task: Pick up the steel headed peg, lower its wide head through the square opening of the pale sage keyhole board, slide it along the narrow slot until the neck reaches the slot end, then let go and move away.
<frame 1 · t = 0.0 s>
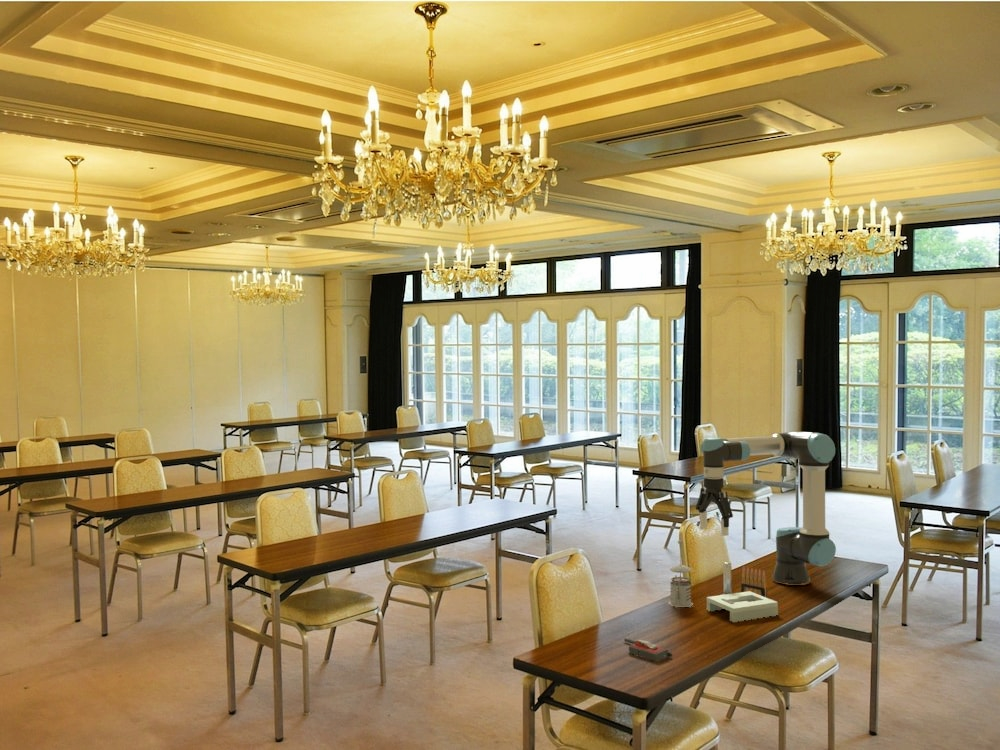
hand: (714, 532, 317), 28 cm above the table, tool pointing down, fingers open, 13 cm apart
ammunition clip: (754, 598, 325), on the table
steel peg: (727, 600, 322), on the table
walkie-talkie: (642, 653, 266), on the table
keyhole board: (741, 612, 306), on the table
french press: (680, 605, 317), on the table
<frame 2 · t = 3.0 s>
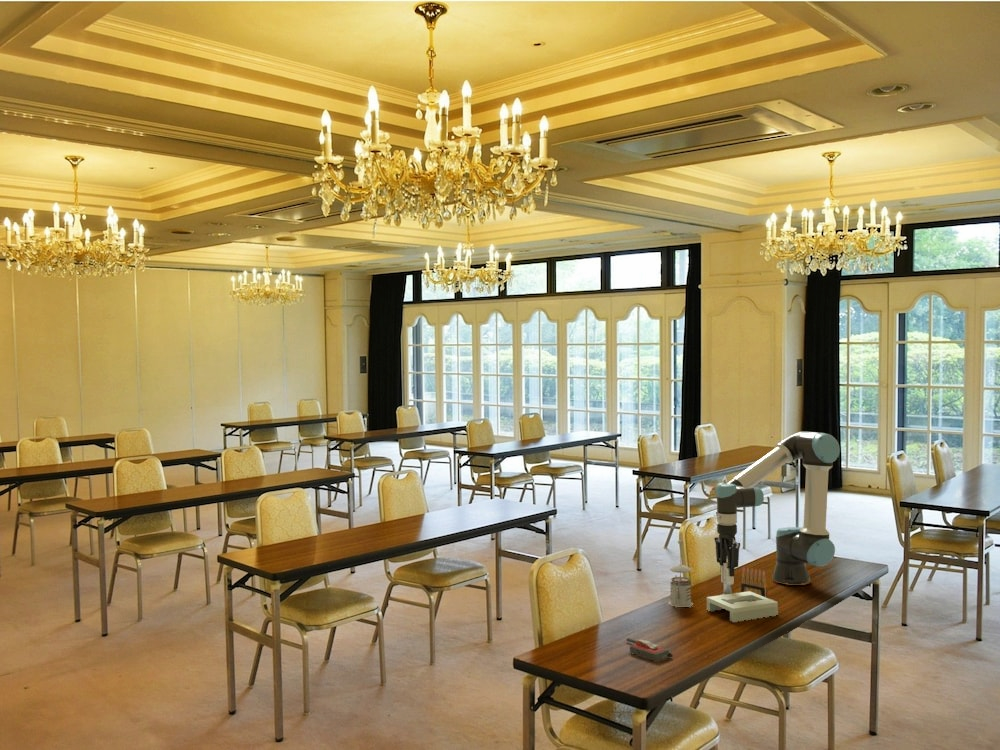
hand: (727, 582, 322), 7 cm above the table, tool pointing down, fingers closed on steel peg, 3 cm apart
steel peg: (727, 600, 322), on the table, touching gripper
everything else where it was.
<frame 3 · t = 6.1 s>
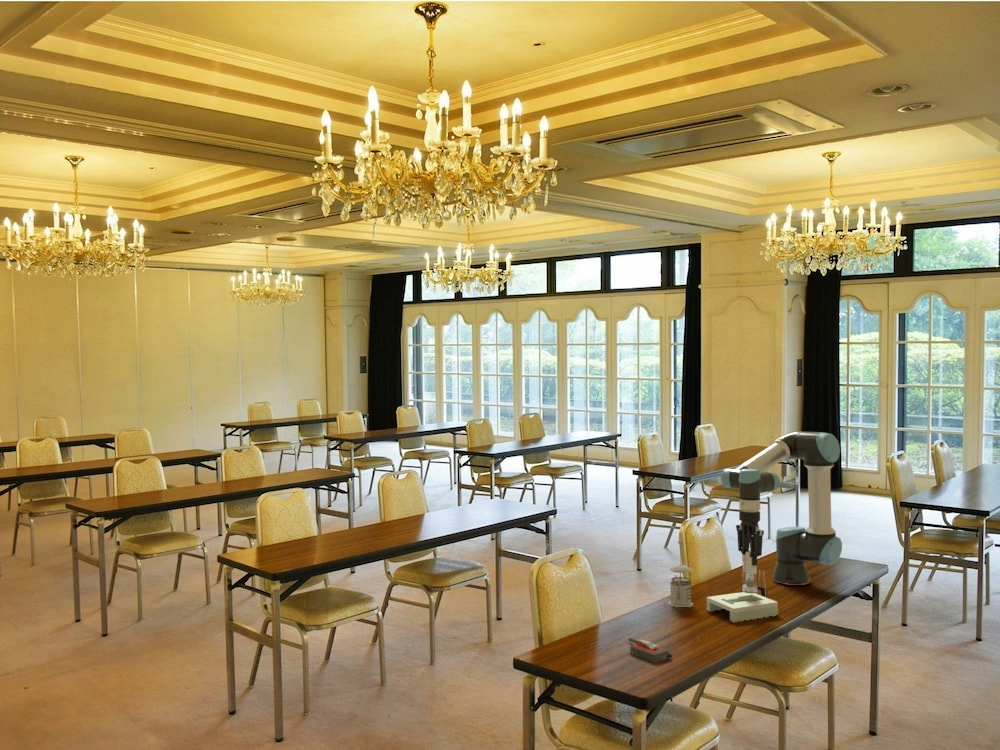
hand: (749, 572, 307), 15 cm above the table, tool pointing down, fingers closed on steel peg, 3 cm apart
steel peg: (749, 591, 307), point 8 cm above the table, touching gripper
everything else where it was.
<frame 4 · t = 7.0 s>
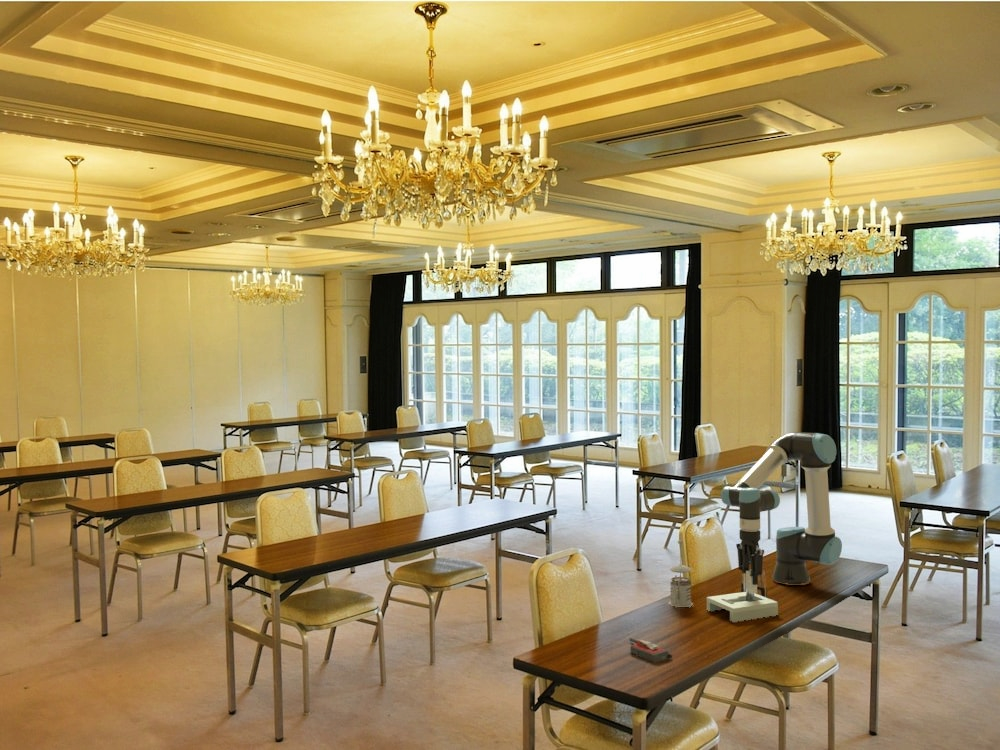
hand: (750, 591, 307), 8 cm above the table, tool pointing down, fingers closed on steel peg, 3 cm apart
steel peg: (750, 610, 307), on the table, touching gripper
everything else where it was.
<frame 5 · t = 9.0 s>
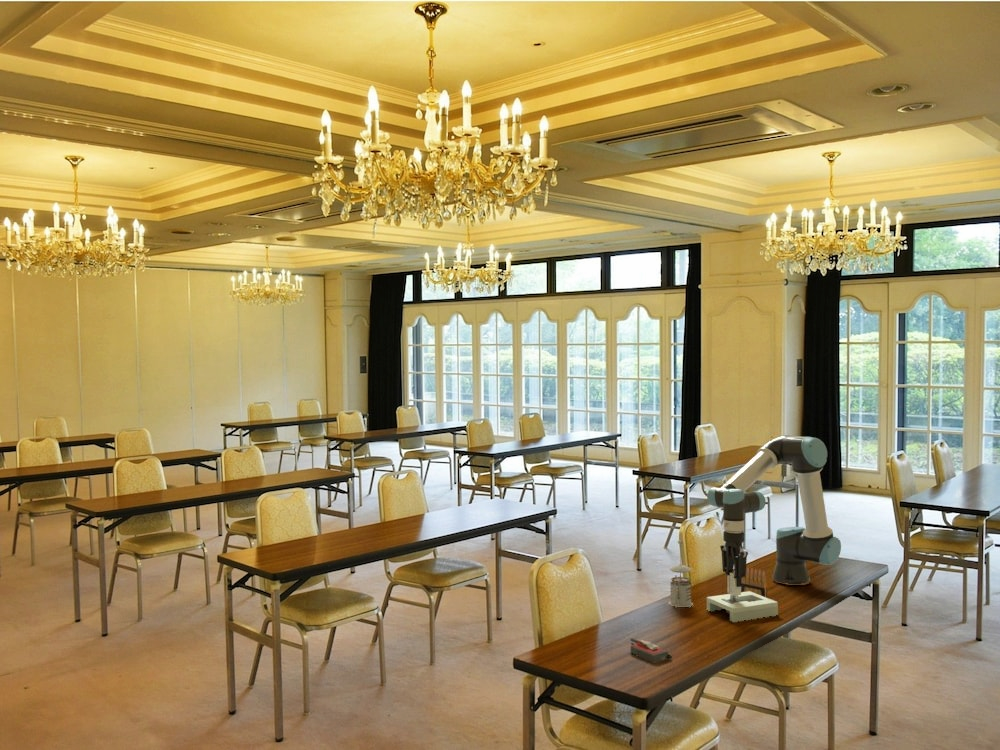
hand: (734, 593, 304), 8 cm above the table, tool pointing down, fingers closed on steel peg, 3 cm apart
steel peg: (734, 612, 304), point 1 cm above the table, touching gripper
when the fingers open (7 cm above the table, at t = 10.0 s): steel peg stays where it is, on the table.
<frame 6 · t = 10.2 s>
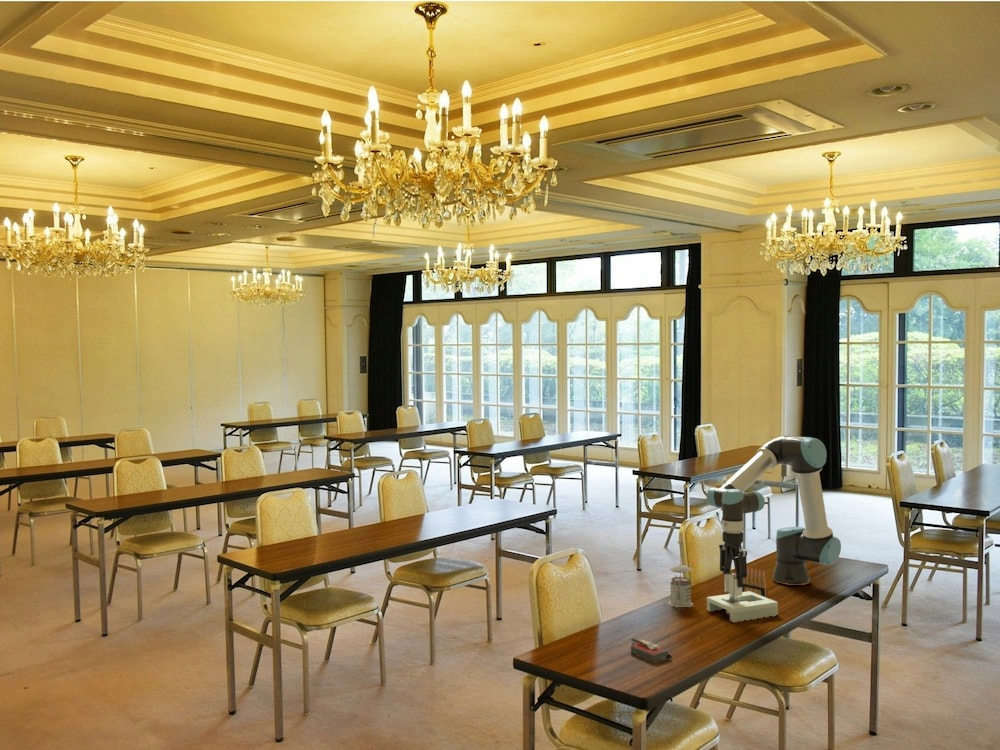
hand: (733, 593, 304), 8 cm above the table, tool pointing down, fingers open, 5 cm apart
steel peg: (733, 614, 304), on the table
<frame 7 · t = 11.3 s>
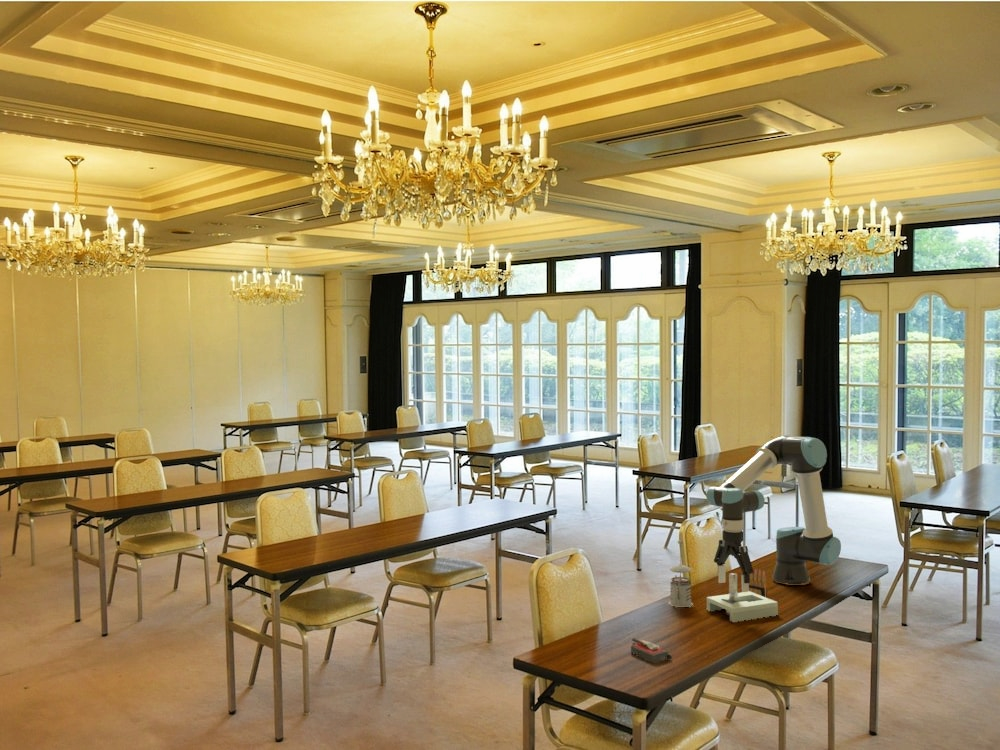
hand: (733, 587, 304), 10 cm above the table, tool pointing down, fingers open, 13 cm apart
nothing on the table moved.
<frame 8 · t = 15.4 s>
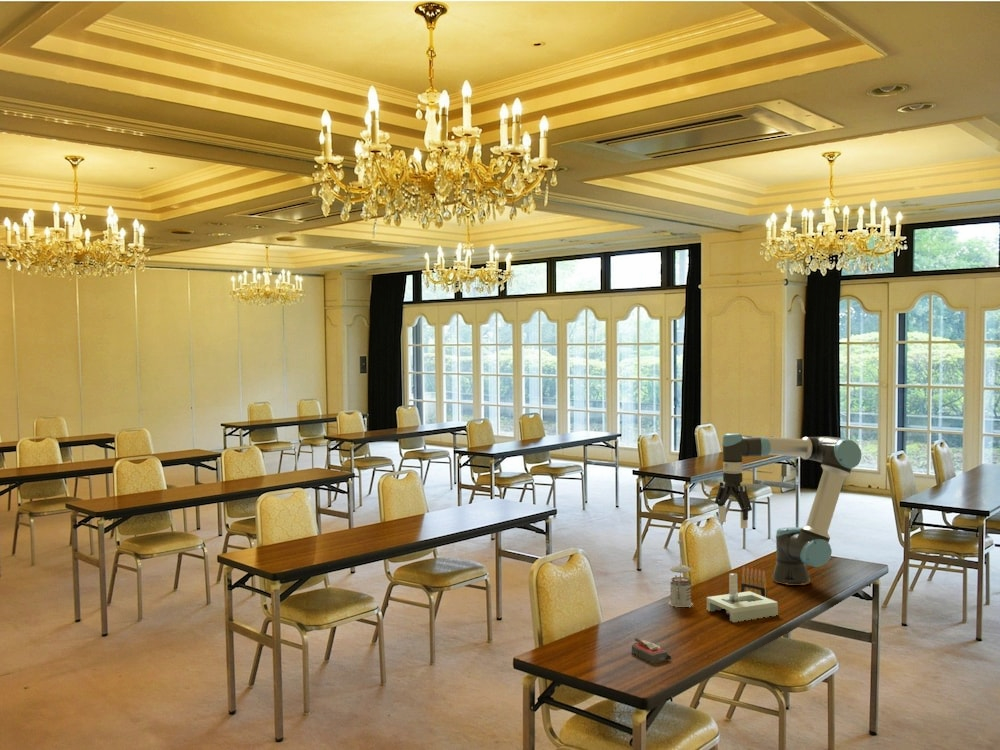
hand: (733, 525, 327), 29 cm above the table, tool pointing down, fingers open, 13 cm apart
at the end: steel peg 0.0 cm from the target spot, on the table; the gripper is holding nothing; steel peg tilted 0° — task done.
